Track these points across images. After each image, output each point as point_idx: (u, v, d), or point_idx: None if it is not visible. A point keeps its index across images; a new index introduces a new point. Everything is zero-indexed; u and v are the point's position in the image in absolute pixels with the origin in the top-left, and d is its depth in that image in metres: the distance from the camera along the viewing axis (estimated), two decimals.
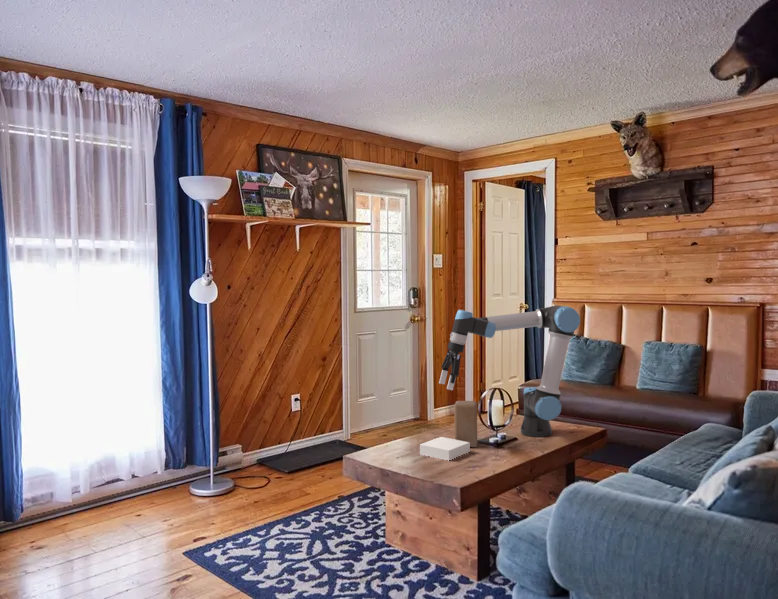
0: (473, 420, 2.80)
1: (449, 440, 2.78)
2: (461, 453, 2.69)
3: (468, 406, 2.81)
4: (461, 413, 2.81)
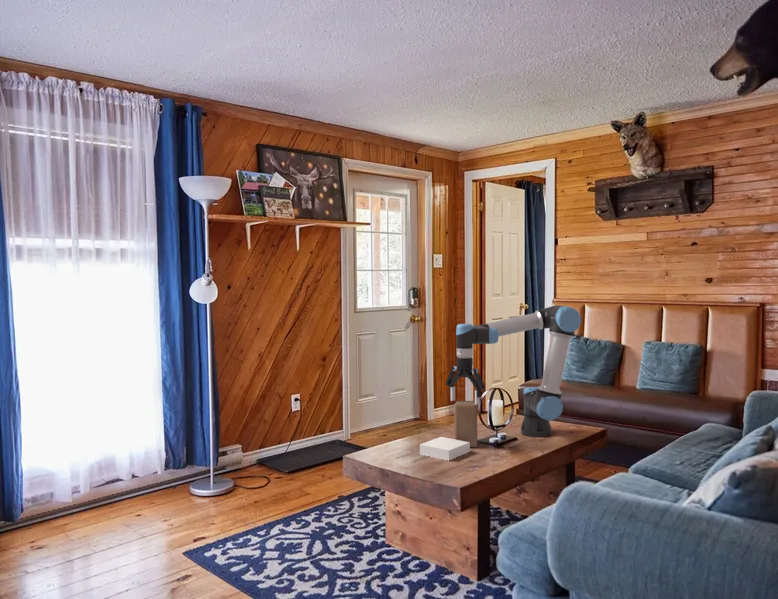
0: (473, 420, 2.80)
1: (449, 440, 2.78)
2: (461, 453, 2.69)
3: (468, 406, 2.81)
4: (461, 413, 2.81)
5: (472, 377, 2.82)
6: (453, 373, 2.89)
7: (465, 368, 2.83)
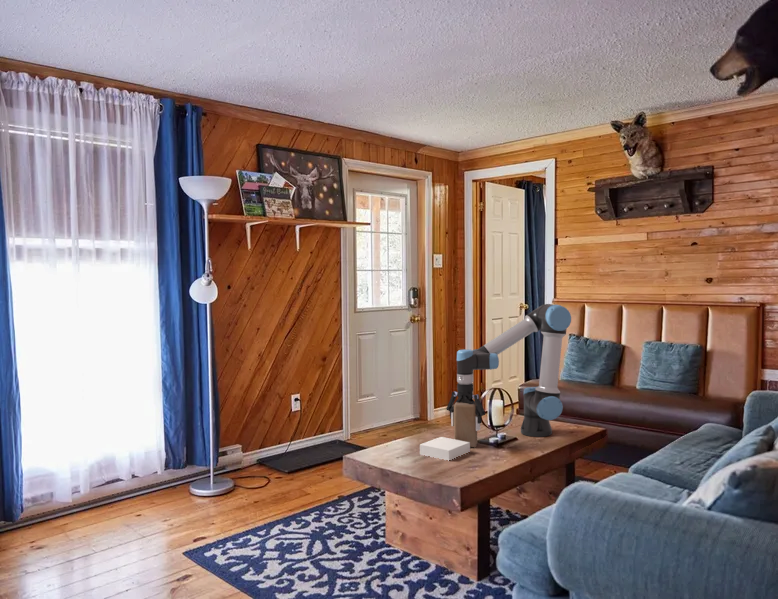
0: (472, 420, 2.80)
1: (449, 440, 2.78)
2: (461, 453, 2.69)
3: (468, 406, 2.81)
4: (460, 413, 2.81)
5: (473, 403, 2.83)
6: (454, 398, 2.90)
7: (466, 394, 2.84)
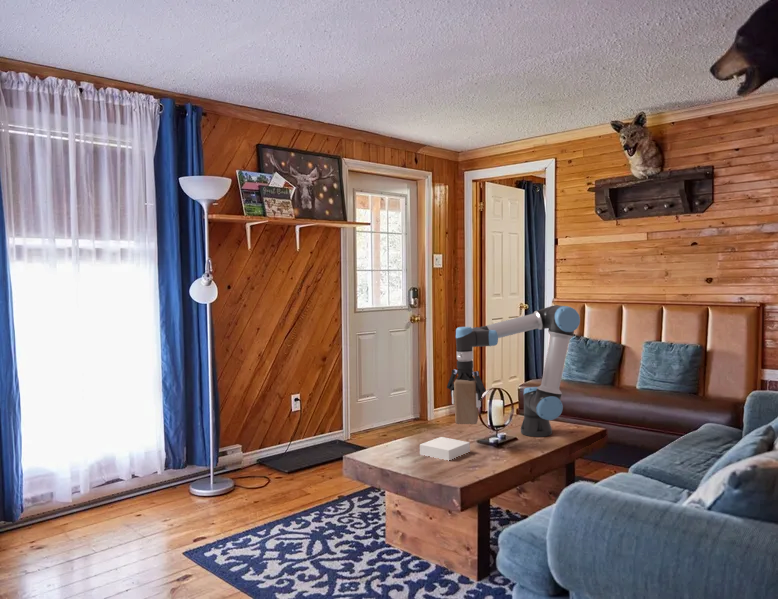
0: (473, 396, 2.80)
1: (449, 440, 2.78)
2: (461, 453, 2.69)
3: (468, 383, 2.80)
4: (461, 389, 2.81)
5: None
6: (454, 376, 2.89)
7: (465, 371, 2.83)
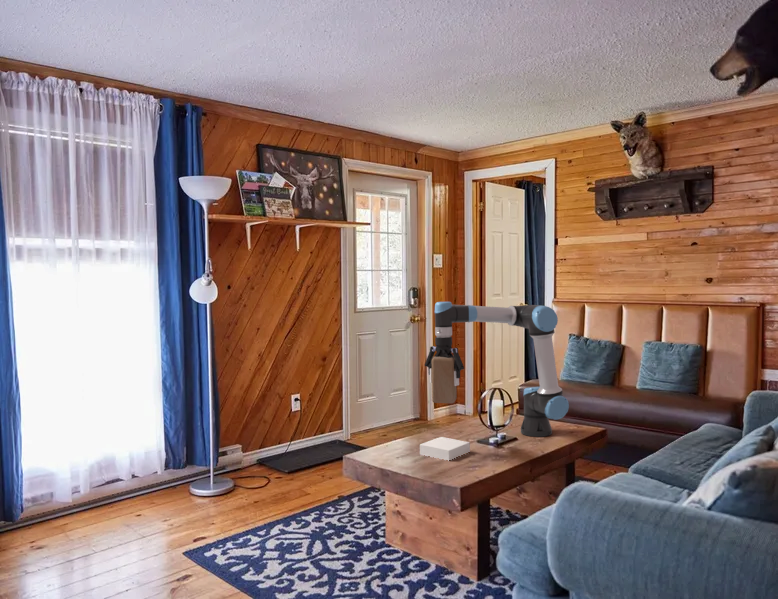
0: (451, 374, 2.67)
1: (449, 440, 2.78)
2: (461, 453, 2.69)
3: (446, 359, 2.68)
4: (438, 366, 2.68)
5: (451, 357, 2.70)
6: (432, 354, 2.77)
7: (444, 348, 2.71)
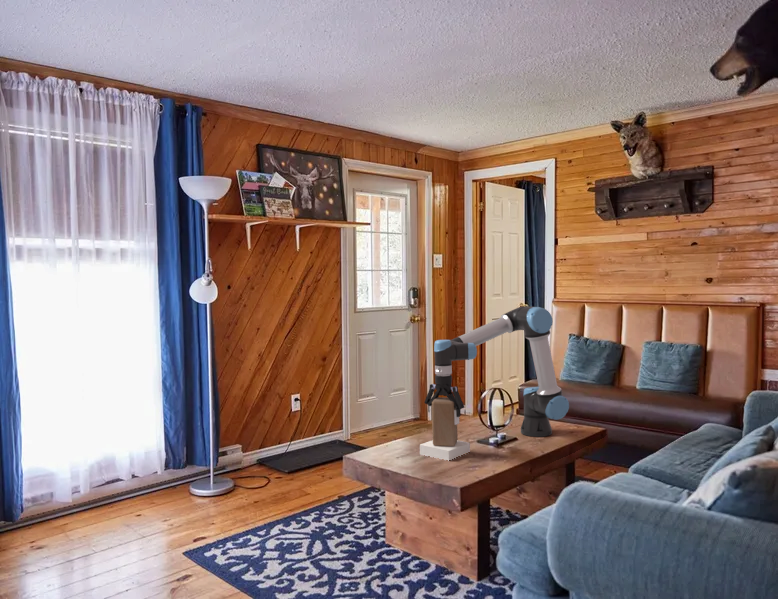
0: (451, 417, 2.67)
1: None
2: (461, 453, 2.69)
3: (446, 403, 2.68)
4: (438, 410, 2.68)
5: (451, 396, 2.70)
6: (432, 391, 2.77)
7: (444, 386, 2.71)
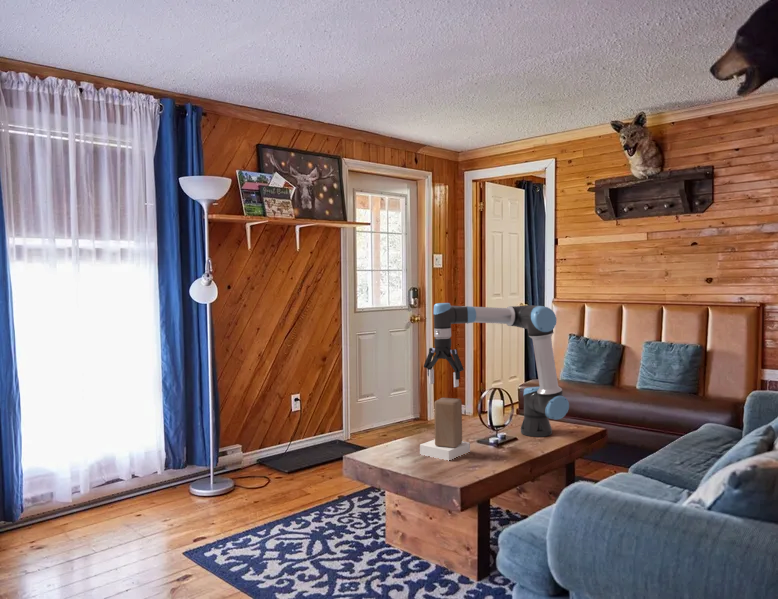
0: (452, 418, 2.65)
1: None
2: (461, 453, 2.69)
3: (447, 403, 2.66)
4: (440, 410, 2.67)
5: (451, 358, 2.69)
6: (431, 355, 2.76)
7: (443, 349, 2.70)
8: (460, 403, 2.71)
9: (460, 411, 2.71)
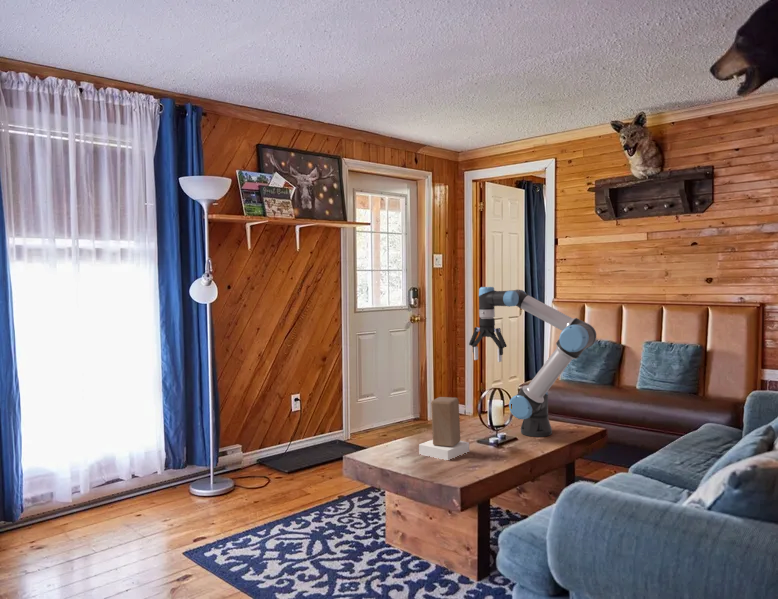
0: (449, 418, 2.66)
1: None
2: (460, 453, 2.70)
3: (444, 403, 2.67)
4: (437, 409, 2.68)
5: (494, 336, 3.00)
6: (476, 334, 3.07)
7: (488, 328, 3.01)
8: (457, 402, 2.72)
9: (457, 410, 2.72)
